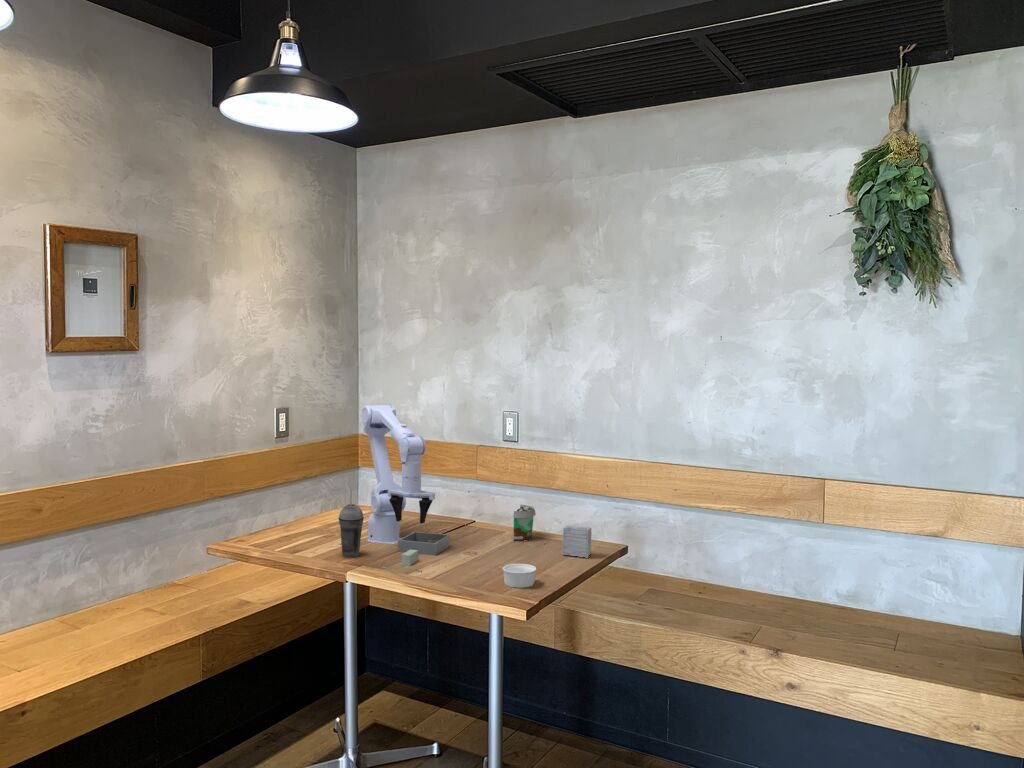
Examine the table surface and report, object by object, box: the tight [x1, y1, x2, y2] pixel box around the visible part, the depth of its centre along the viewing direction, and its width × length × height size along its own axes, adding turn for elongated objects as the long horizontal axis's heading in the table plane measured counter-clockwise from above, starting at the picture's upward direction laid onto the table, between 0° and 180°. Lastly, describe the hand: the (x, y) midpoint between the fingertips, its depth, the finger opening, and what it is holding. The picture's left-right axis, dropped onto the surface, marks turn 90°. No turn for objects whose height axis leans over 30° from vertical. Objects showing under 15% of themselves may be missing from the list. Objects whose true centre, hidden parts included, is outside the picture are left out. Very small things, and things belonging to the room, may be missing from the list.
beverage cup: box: [338, 488, 365, 559], centre depth 224 cm, size 7×7×20 cm
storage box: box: [397, 531, 451, 556], centre depth 234 cm, size 12×12×4 cm
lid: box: [380, 550, 423, 573], centre depth 218 cm, size 12×12×4 cm
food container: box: [512, 504, 537, 542], centre depth 252 cm, size 12×6×10 cm, turn 168°
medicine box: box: [562, 524, 592, 557], centre depth 232 cm, size 8×4×9 cm, turn 71°
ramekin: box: [502, 563, 537, 589], centre depth 203 cm, size 9×9×4 cm
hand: (410, 521), depth 230 cm, fingers open, 7 cm apart
